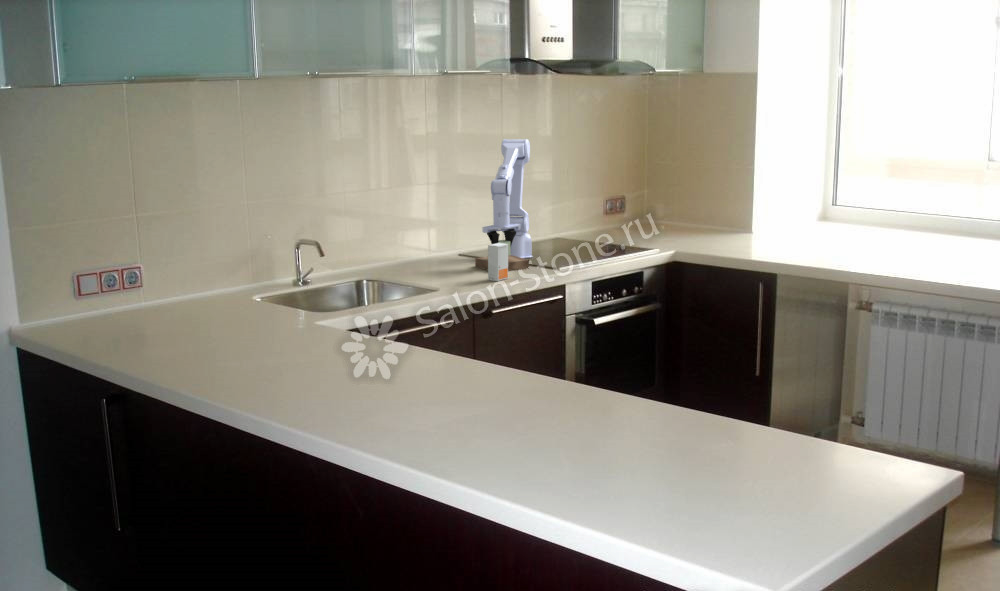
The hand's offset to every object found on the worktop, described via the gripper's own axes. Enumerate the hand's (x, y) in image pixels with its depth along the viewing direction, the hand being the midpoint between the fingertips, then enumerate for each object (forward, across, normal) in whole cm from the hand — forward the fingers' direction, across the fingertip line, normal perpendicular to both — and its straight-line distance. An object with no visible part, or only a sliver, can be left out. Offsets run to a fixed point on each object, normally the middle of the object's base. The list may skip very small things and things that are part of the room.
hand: (501, 251), depth 355 cm
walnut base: (+6, 0, 0) cm, 6 cm away
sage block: (+2, 0, 0) cm, 2 cm away
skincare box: (+6, -12, -18) cm, 22 cm away
